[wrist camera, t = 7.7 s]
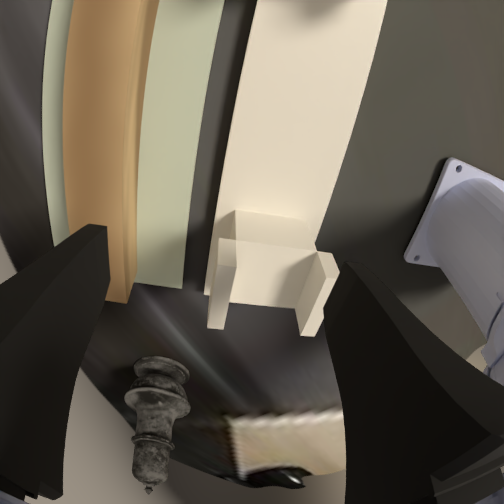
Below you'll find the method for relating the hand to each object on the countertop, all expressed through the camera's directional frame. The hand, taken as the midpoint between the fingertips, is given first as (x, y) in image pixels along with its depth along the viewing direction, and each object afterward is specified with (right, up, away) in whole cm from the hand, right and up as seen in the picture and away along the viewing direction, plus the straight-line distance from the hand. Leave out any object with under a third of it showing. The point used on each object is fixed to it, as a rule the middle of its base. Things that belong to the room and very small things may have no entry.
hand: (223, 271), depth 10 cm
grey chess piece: (-8, -10, +18) cm, 22 cm away
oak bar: (-6, +9, +3) cm, 11 cm away
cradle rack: (+3, +8, +5) cm, 10 cm away
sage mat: (-6, +9, +4) cm, 12 cm away
